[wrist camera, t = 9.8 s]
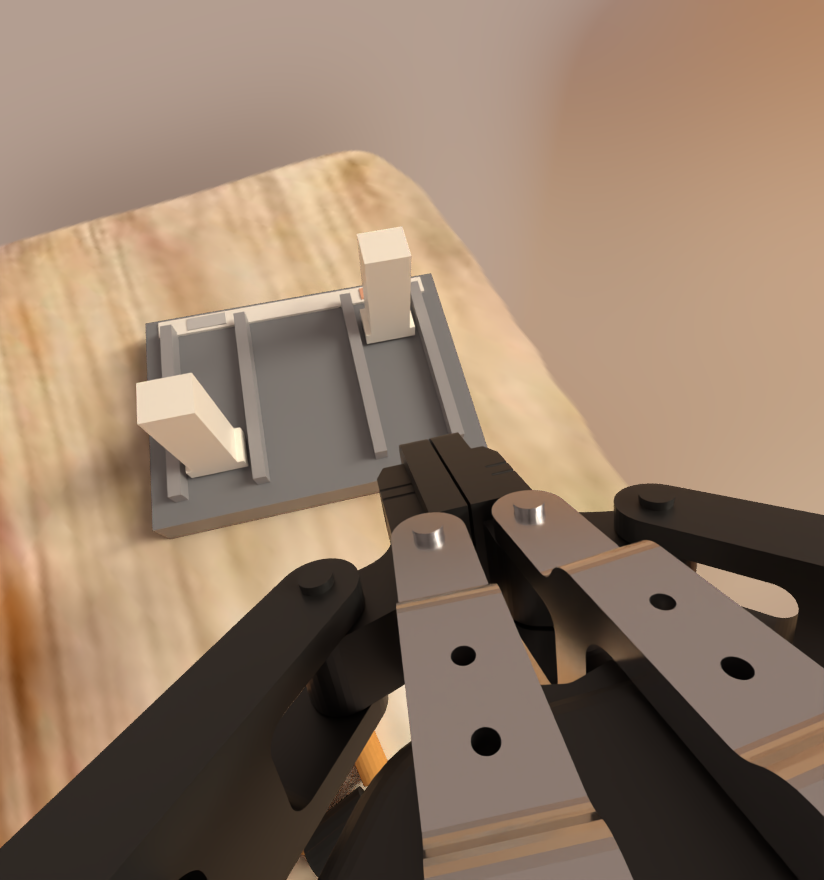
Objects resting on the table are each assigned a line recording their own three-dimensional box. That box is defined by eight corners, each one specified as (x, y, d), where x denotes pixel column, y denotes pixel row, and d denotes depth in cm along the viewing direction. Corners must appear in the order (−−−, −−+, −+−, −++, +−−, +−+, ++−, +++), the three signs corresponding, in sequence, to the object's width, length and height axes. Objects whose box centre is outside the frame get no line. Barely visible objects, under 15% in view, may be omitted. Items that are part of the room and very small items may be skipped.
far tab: (366, 344, 36) (357, 265, 29) (360, 317, 37) (350, 234, 30) (414, 335, 36) (417, 255, 29) (407, 309, 37) (408, 225, 30)
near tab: (192, 478, 32) (128, 425, 24) (189, 444, 33) (128, 384, 25) (248, 466, 32) (202, 411, 25) (244, 433, 33) (199, 371, 26)
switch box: (169, 539, 33) (143, 526, 30) (160, 342, 39) (137, 313, 36) (484, 468, 35) (493, 449, 32) (429, 294, 41) (431, 262, 38)
